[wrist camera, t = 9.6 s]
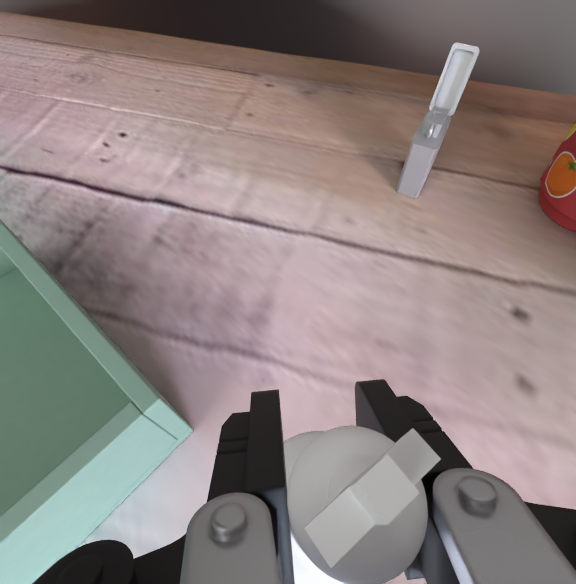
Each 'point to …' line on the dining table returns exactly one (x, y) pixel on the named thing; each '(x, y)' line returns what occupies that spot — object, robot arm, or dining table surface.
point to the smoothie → (561, 184)
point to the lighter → (437, 119)
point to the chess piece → (355, 504)
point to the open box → (65, 419)
